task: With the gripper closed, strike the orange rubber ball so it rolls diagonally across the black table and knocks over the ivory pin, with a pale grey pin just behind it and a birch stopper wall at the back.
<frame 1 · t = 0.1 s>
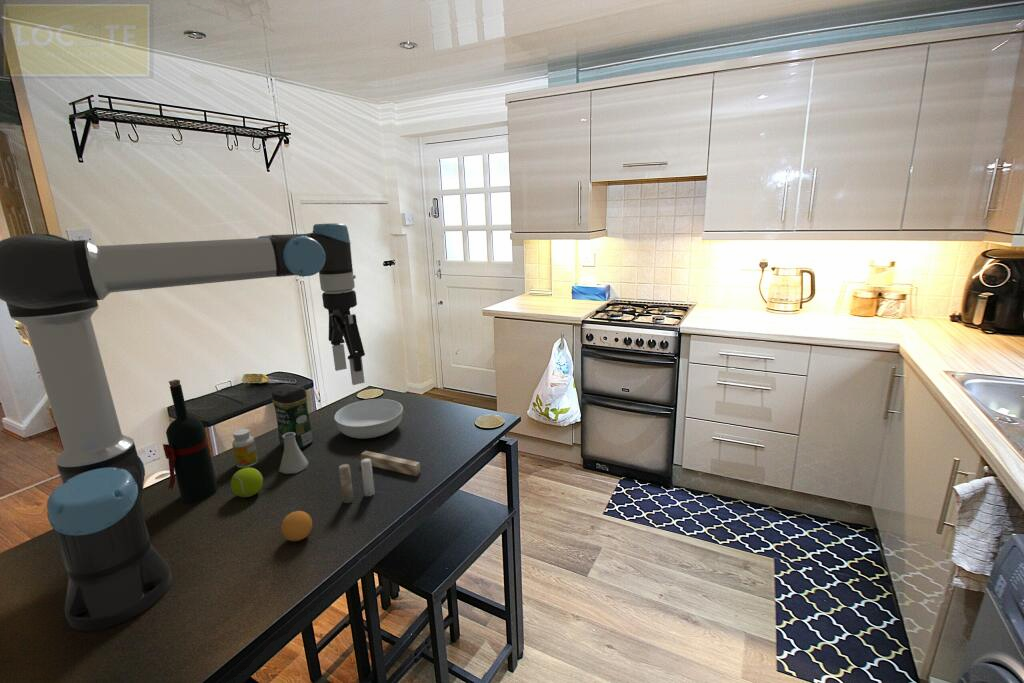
hand: (349, 376, 119), 28 cm above the table, tool pointing down, fingers open, 13 cm apart
serving bowl: (371, 431, 153), on the table
pin 1: (348, 500, 116), on the table
tennis ball: (249, 495, 120), on the table
back wall: (390, 468, 130), on the table
coffee jar: (297, 444, 146), on the table
supplement bottle: (247, 464, 135), on the table
ball: (296, 525, 102), on the table
flask: (294, 468, 132), on the table
pin 2: (369, 493, 119), on the table
wine bottle: (195, 496, 120), on the table
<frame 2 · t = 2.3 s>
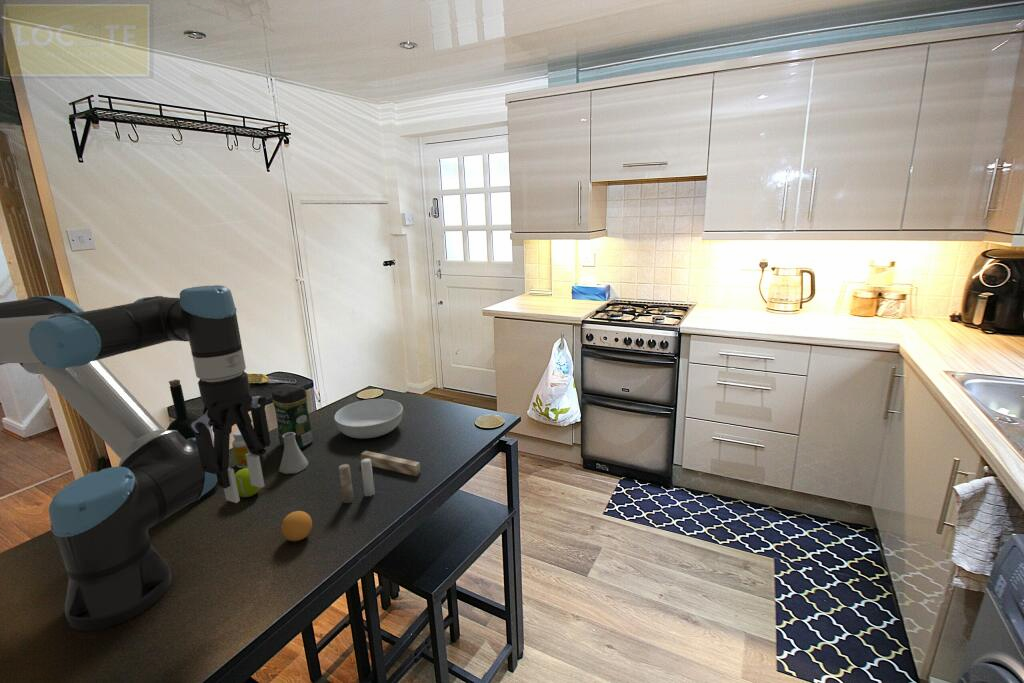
hand: (245, 492, 90), 17 cm above the table, tool pointing down, fingers open, 4 cm apart
nothing on the table moved.
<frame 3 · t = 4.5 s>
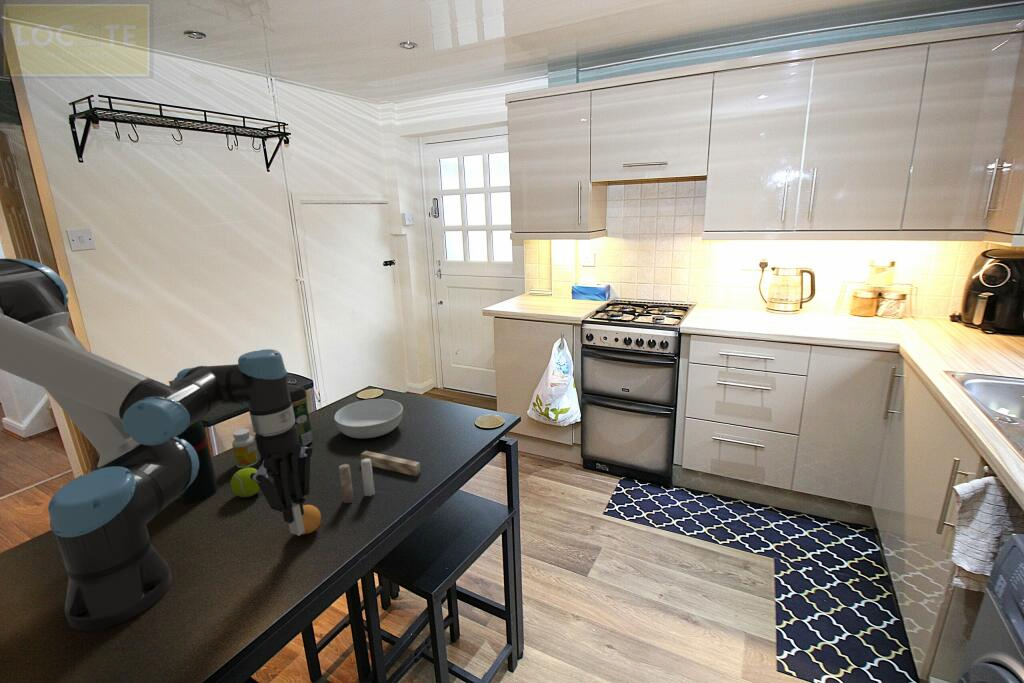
hand: (297, 532, 100), 3 cm above the table, tool pointing down, fingers closed
ball: (306, 519, 104), on the table
everything else where it was.
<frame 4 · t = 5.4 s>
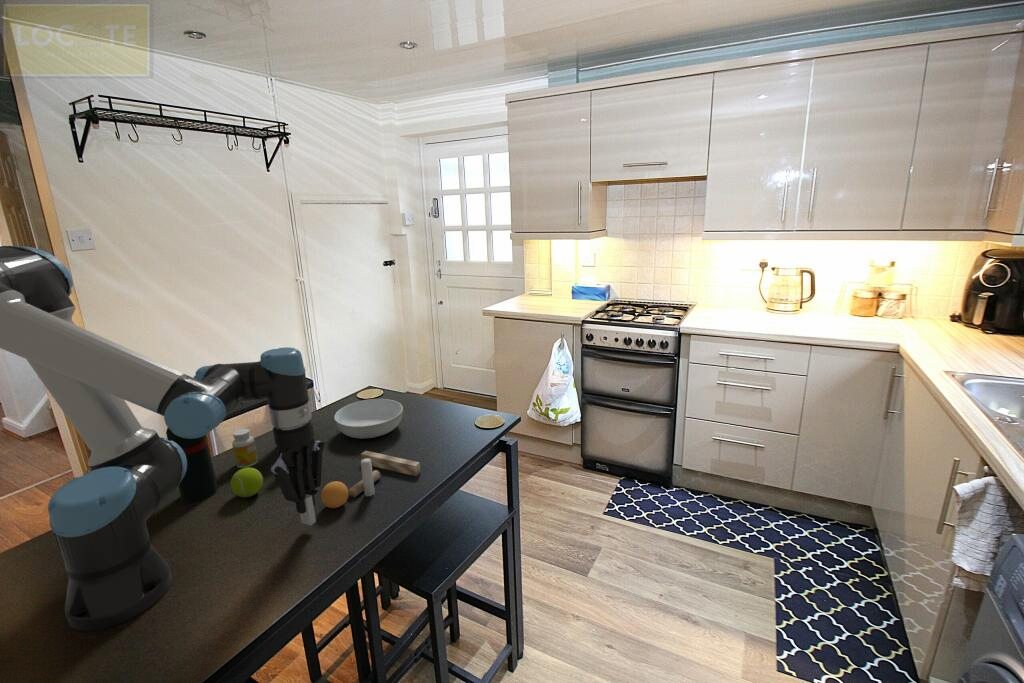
hand: (308, 522, 105), 2 cm above the table, tool pointing down, fingers closed
pin 1: (352, 492, 117), point 1 cm above the table, tilted 90°
ball: (334, 494, 113), on the table
everything else where it was.
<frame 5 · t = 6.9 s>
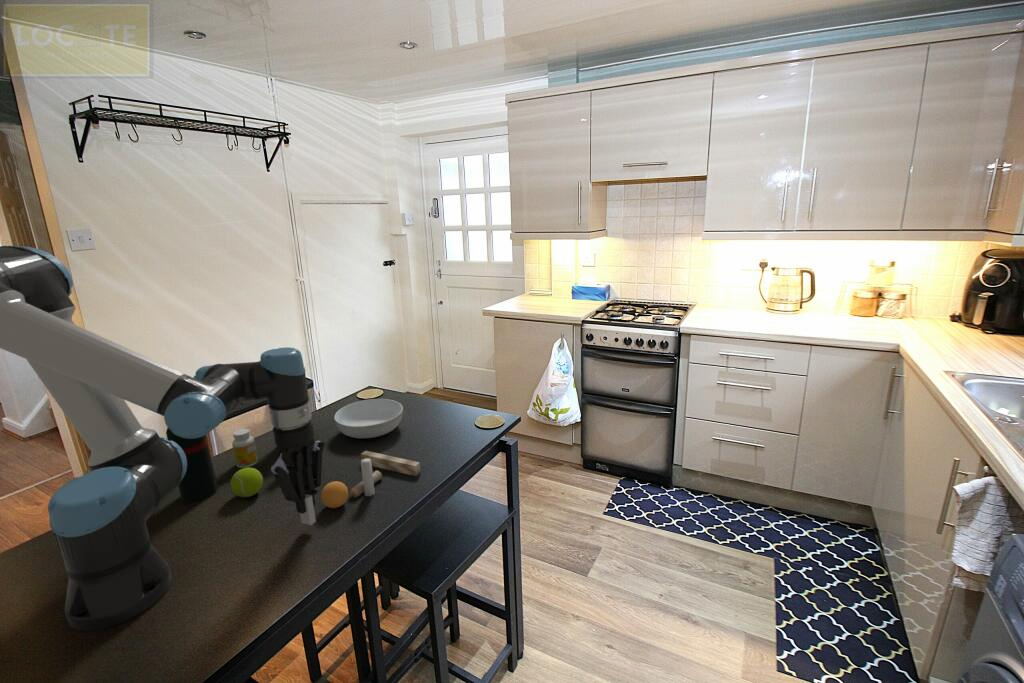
hand: (308, 522, 105), 2 cm above the table, tool pointing down, fingers closed
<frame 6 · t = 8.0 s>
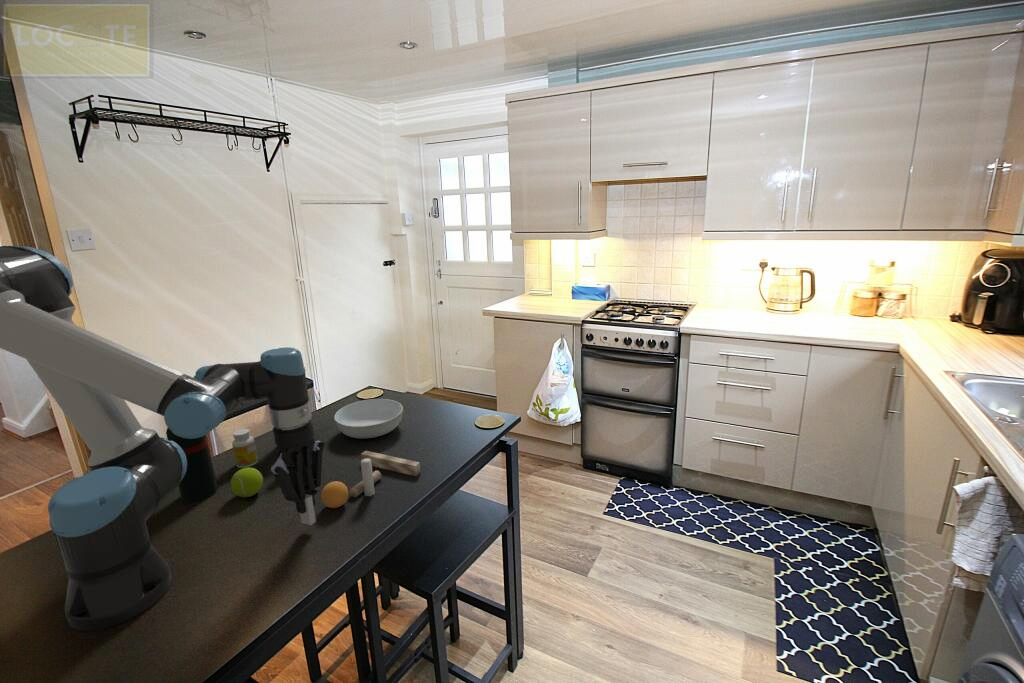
hand: (308, 522, 105), 2 cm above the table, tool pointing down, fingers closed
nothing on the table moved.
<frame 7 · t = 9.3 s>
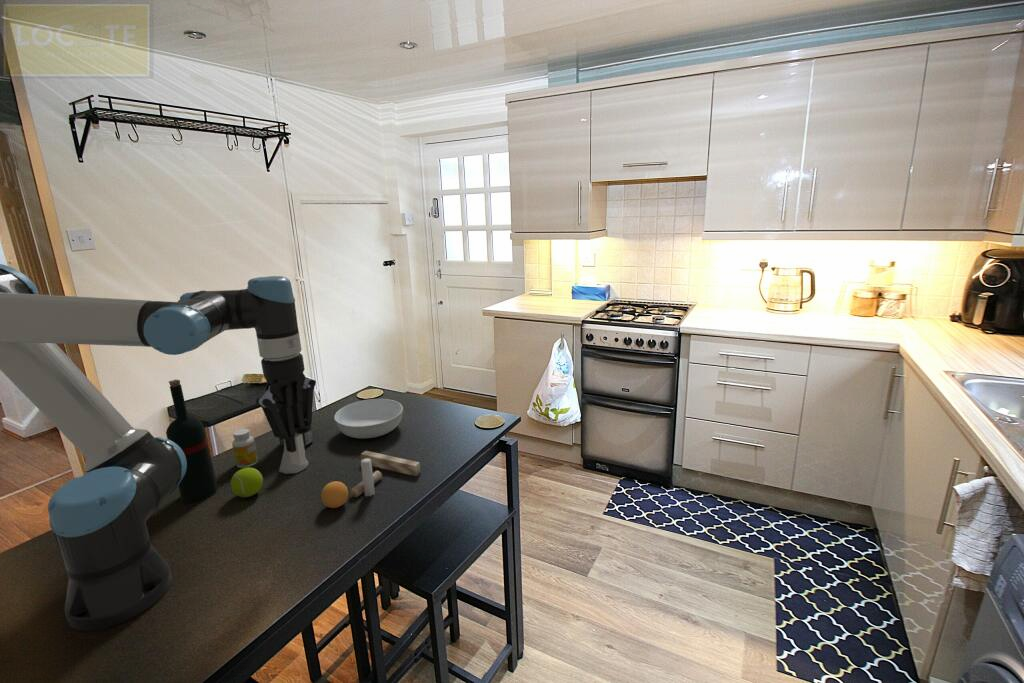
hand: (298, 462, 101), 16 cm above the table, tool pointing down, fingers closed
nothing on the table moved.
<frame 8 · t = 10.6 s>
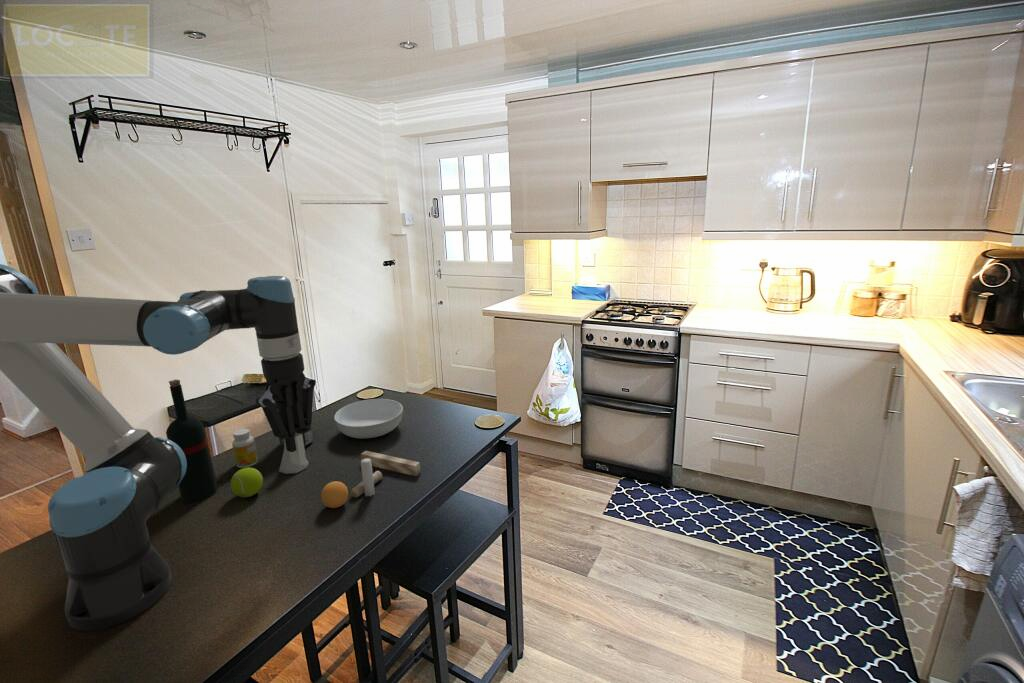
hand: (299, 462, 101), 16 cm above the table, tool pointing down, fingers closed
nothing on the table moved.
at the end: pin 1 tilted 90°; pin 1 never touched the robot; ball moved 12.2 cm from its start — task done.
